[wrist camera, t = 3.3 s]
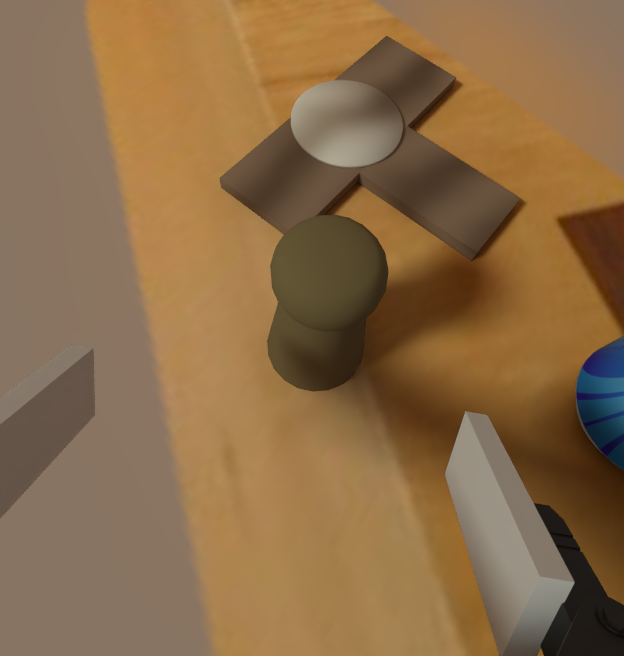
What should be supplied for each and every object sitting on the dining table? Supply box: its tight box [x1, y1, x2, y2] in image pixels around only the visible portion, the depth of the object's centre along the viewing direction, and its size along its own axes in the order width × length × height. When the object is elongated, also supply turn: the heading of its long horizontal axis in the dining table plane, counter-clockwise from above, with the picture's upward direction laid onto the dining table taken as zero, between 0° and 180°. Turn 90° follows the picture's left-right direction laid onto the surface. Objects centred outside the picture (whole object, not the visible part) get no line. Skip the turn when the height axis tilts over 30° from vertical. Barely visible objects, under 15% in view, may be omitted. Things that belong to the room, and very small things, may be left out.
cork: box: [267, 215, 388, 391], centre depth 24 cm, size 6×6×11 cm
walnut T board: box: [220, 36, 520, 261], centre depth 34 cm, size 18×20×1 cm
